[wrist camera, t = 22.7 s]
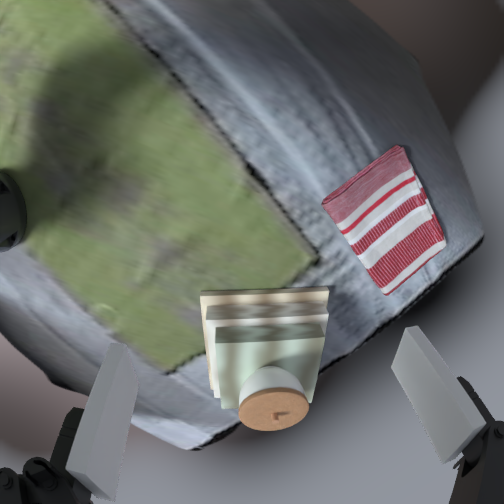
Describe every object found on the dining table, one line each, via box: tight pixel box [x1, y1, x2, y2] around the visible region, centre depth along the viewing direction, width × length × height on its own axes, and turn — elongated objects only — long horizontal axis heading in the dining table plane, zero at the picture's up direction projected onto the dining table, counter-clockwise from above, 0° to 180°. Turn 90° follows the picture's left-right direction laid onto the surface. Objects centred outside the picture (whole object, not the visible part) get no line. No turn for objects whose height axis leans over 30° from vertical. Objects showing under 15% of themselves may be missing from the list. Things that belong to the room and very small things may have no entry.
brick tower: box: [200, 287, 329, 409], centre depth 52 cm, size 22×24×10 cm
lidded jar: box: [239, 366, 309, 431], centre depth 44 cm, size 11×11×9 cm
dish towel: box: [321, 145, 446, 296], centre depth 48 cm, size 17×23×3 cm
